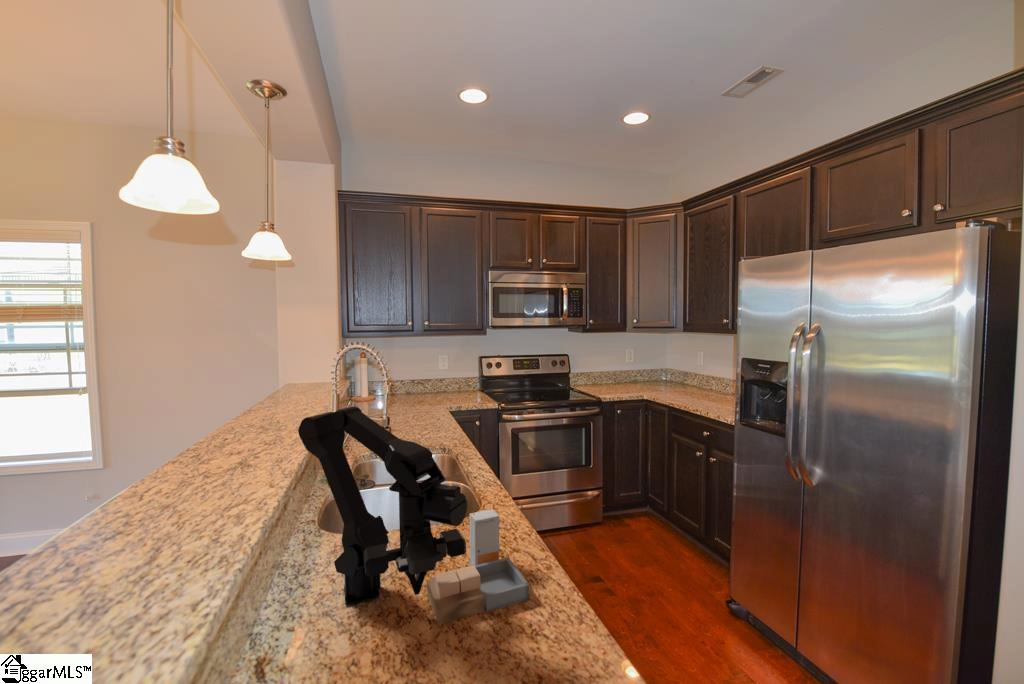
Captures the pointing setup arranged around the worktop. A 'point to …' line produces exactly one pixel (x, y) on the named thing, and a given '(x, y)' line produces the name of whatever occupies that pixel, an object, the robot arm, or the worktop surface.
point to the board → (454, 603)
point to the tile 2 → (468, 578)
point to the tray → (502, 584)
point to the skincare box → (484, 537)
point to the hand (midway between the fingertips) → (416, 593)
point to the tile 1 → (447, 584)
